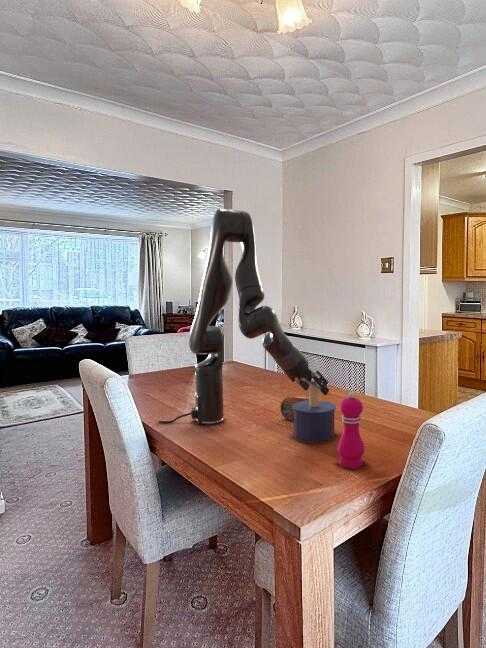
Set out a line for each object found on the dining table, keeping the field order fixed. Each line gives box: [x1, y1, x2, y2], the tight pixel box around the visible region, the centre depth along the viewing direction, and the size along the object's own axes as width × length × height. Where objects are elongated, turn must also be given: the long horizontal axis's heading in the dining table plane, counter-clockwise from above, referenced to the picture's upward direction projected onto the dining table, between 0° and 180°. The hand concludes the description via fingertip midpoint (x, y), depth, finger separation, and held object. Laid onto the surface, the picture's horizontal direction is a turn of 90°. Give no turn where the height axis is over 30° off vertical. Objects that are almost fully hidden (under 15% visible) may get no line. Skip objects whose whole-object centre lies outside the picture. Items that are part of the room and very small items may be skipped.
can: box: [293, 410, 335, 443], centre depth 144 cm, size 13×13×9 cm
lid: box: [293, 379, 337, 414], centre depth 142 cm, size 14×14×10 cm
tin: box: [279, 395, 309, 422], centre depth 160 cm, size 15×3×8 cm, turn 68°
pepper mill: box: [337, 391, 366, 469], centre depth 121 cm, size 7×7×20 cm
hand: (317, 390), depth 143 cm, fingers open, 8 cm apart
